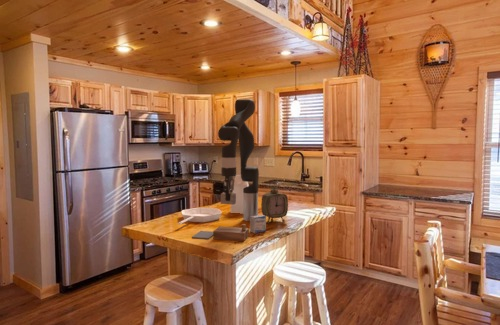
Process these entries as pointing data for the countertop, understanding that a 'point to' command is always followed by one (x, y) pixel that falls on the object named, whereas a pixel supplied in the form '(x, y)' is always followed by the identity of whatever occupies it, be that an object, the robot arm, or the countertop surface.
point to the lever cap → (232, 198)
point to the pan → (200, 215)
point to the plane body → (231, 233)
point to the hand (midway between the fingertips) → (228, 200)
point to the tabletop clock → (274, 204)
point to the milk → (238, 194)
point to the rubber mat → (203, 235)
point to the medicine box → (257, 223)
